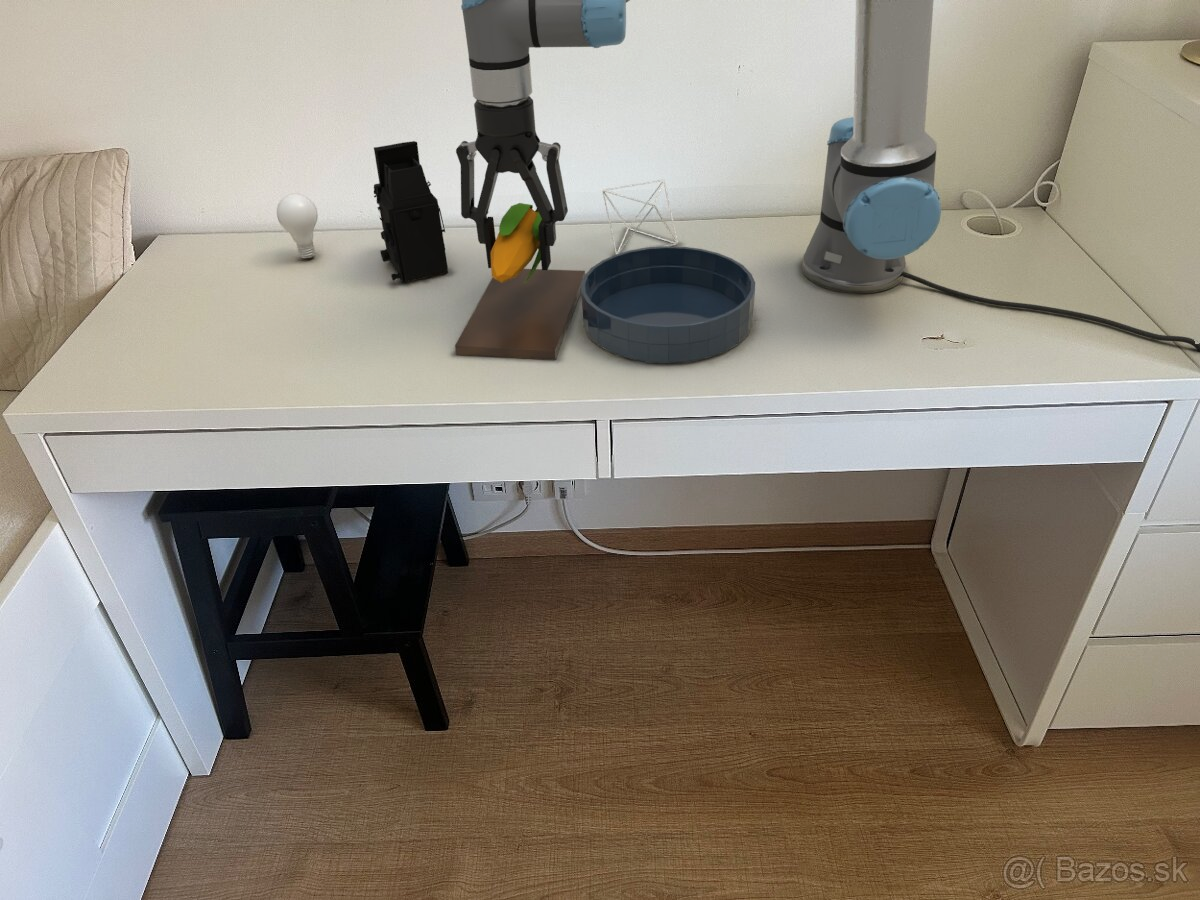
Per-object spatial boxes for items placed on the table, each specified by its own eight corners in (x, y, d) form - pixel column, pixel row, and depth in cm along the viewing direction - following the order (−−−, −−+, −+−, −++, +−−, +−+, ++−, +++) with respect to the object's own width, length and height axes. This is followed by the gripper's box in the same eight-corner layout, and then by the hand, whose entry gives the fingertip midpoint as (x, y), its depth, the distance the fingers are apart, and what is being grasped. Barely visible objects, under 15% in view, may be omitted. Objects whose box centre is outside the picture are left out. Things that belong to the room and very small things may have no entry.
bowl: (754, 285, 137) (756, 248, 133) (750, 370, 118) (753, 330, 114) (597, 279, 140) (596, 243, 136) (569, 361, 121) (566, 322, 118)
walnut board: (585, 279, 140) (585, 270, 139) (555, 359, 122) (554, 350, 121) (498, 276, 142) (497, 267, 142) (456, 354, 124) (454, 345, 123)
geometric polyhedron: (598, 234, 154) (596, 182, 148) (657, 223, 156) (657, 172, 151) (622, 264, 144) (620, 210, 139) (685, 252, 147) (686, 199, 141)
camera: (431, 243, 154) (412, 123, 141) (456, 273, 144) (437, 148, 131) (374, 255, 150) (349, 135, 138) (395, 288, 140) (370, 161, 128)
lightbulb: (335, 254, 151) (321, 191, 145) (307, 269, 147) (291, 205, 140) (309, 247, 154) (293, 184, 147) (281, 261, 150) (263, 198, 143)
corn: (553, 189, 130) (524, 247, 114) (560, 238, 135) (533, 301, 119) (503, 191, 132) (468, 250, 116) (512, 240, 136) (479, 302, 120)
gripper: (586, 90, 115) (593, 255, 129) (436, 88, 118) (459, 251, 132) (575, 107, 109) (584, 279, 123) (418, 106, 112) (444, 274, 126)
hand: (519, 264), depth 127 cm, fingers closed on corn, 7 cm apart
